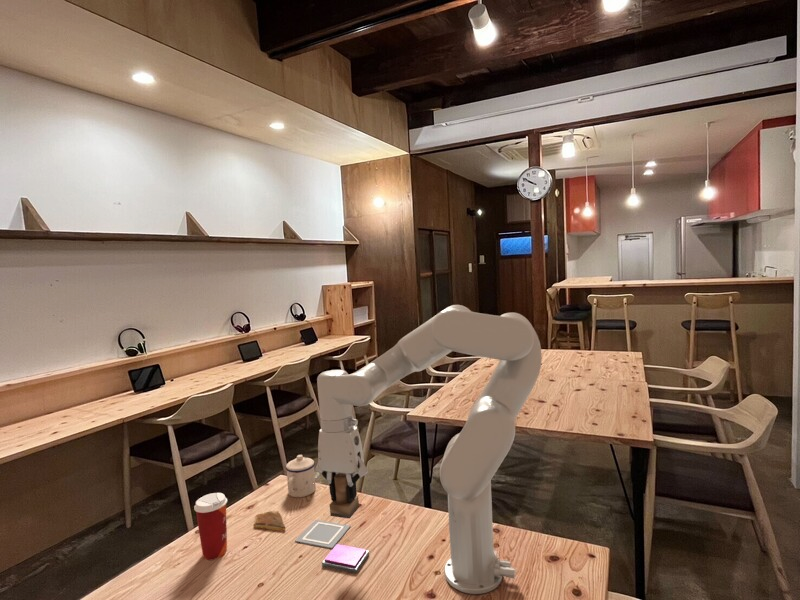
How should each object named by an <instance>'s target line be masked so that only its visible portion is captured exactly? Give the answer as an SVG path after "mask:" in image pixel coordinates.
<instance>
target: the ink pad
mask: <svg viewBox="0 0 800 600" xmlns="http://www.w3.org/2000/svg"><path fill="white" fill-rule="evenodd" d="M369 555H370V551H369V550H367V549H364V548H360V547H355V546H349V545H344V544H338V543H337V544H336V545H335V546H334V547H333V549H331V550H330V552H329V553H328V554H327V555H326V556H325V558H324V559H323V560H322V561H321V567H323V568H329V569H333V570H337V571H342V572H347V573H352V574H358V572H359V570H360V569H361V567H362V566H363V565H364V563H365V562H366V560H367V559H368V557H369Z"/></svg>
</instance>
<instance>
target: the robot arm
mask: <svg viewBox="0 0 800 600" xmlns="http://www.w3.org/2000/svg"><path fill="white" fill-rule="evenodd" d="M452 352H456V353H460V354H464V355H465V354H466V355H470V356H475V357H482V358H488V359H492V360H493V359H494V360H498V363H497V366H496V368H495V369H494V371H493V372H492V374H491V377H490V379H489V380H488V382H487V383H486V385H485V387H484V389H483V390H482V391H481V393H480V395H479V396H478V398H477V399H476V400H475V402H474V403H473V405H472V406H471V408H470V410H469V413H468V417H467V419H466V421H465V423H464V426H463V427H462V429H461V431H460V432H459V433H457V434H455V435H454V436H453V437H451V439H450V440H449V442H448V443H447V445H446V448H445V451H444V454H443V457H442V461H441V463H440V468H439V479H440V483H441V486H442V488H443V489H444V491H445V492H446V493H447V508H448V509H447V511H448V527H449V544H450V545H449V547H450V558H449V559H448V560H447V562H446V563H445V564H444V565H445V566H444V577H445V579H446V581H447V582H448V584H449V585H450V586H451V587H453V589H455V590H458V591H460V592H462V593H466V594H468V595H469V594H470V595H482V594H486V593H489V592H491V591H493V590H495V589H496V588H497V587H498V586H500V584H501V583H502V580H503V577H504V578H508V579H509V578H510V579H516V568H515V567H512V566H511V563H512V562H511V561H510V560H503V559H500V558H498V550H495V549H494V548H495V547H494V546H495V545H494V534H493V533H494V529H493V528H494V527H493V510H492V509H493V503H492V502H493V501H492V481H491V480H492V478H493V477H494V476H495V474H496V473H497V471H498V469H499V468H500V466H501V464H502V463H503V461H504V459H505V458H506V457H507V455H508V453H509V452H510V449H511V448H512V446H513V443H514V439H515V435H516V420H517V417H518V415H519V414H520V412H521V410H522V408H523V406H524V405H525V403H526V401H527V400H528V397H529V396H530V394H531V392H532V391H533V389H534V386H535V385H536V382H537V381H538V378H539V375H540V372H541V367H542V359H543V358H542V347H541V342H540V339H539V335H538V334H537V331H536V330H535V328H534V327H533V325H532V323H531V322H530V321H529V320H528V318H526V317H525V316H524V315H522V314H521V313H518V312H514V311H513V312H506V313H503V314H501V315H496V314H495V315H494V314H489V313H480V312H476V311H475V312H474V311H472V310H470V308H469V307H466V306H464V305H462V304H461V305H460V304H452V305H450V306H447V307H445V308H444V309H443V310H441V311H439V312H438V313H436V315H434V316H433V317H431V318H430V319H428V320H427V321H425V322H424V323H422V324H421V325H419V326H418V327H417V328H415V329H413V330H412V331H410V332H409V333H407V334H406V335H404V336H403V337H402V338H400V339H399V340H398V341H397V343H396V344H394V346H393V347H391V348H390V349H388V350H387V351H385V352H384V353H383V354H381V355H380V356H379V357H376V358H375V359H374V360H372V361H371V362H369V363H368V364H366V365H365V366H362V368H360V369H358V370H356V371H354V372H353V373H350V374H349V373H348V372H347V371H346V370H343V369H331V370H326V371H322V372H321V373H320V374H318V376H317V378H316V381H317V382H316V384H317V385H316V386H317V395H318V396H317V397H318V405H319V408H318V409H319V417H320V427H321V428H320V429H319V430H318V431H319V432H318V438H317V439H318V442H317V443H318V444H317V455H318V459H317V460H318V461H317V463H316V466H314V470H315V471H316V472H318V473H319V474H320V475H321V476H323V478H324V479H325V480H326V483H327V485H329V495H330V498H331V502H332V501H335V500H336V491H335V480H334V476H335V475H336V474H337V473H346V478H347V482H348V485H347V487H346V492H347V502H348V503H351V502H352V501H353V500H354V499H355V497H356V496H358V495H357V493H358V492H357V491H358V490H357V482H358V481H359V479H361V478H362V477H364V476H366V475H367V474H368V473H369V470H368V468H367V466H366V464H365V459H364V451H363V445H362V440H361V437H360V433H359V429H358V426H357V425H358V424H359V419H356V418H354V414H353V406H355V407H363V406H364V407H365V406H368V405H369V404H372V402H374V400H375V399H377V398H378V396H379V395H380V394H382V393H383V392H384V391H386V390H387V389H388V388H389V387H391V386H393V385H395V384H396V383H397V382H398V381H400V380H401V379H404V378H405V377H406V376H409V375H410V374H412V373H415V372H417V373H418V372H421V371H424V370H426V369H427V368H429V367H430V366H432V365H433V364H435V363H436V362H438V361H440V360H441V359H443V358H444V357H445V356H447V355H449V354H450V353H452ZM357 471H358V472H357Z"/></svg>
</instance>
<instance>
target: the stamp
mask: <svg viewBox="0 0 800 600" xmlns="http://www.w3.org/2000/svg"><path fill="white" fill-rule="evenodd" d="M334 480H335V491H336V500H335V501H332V500H331V503H330V504H329V513H330V515H329V516H330V517H336V518H343V519H352V518H351V517H352V516H353V515H354V514H355V513H356V512H357V510H359V508H360V504H359V503H360V502H359V496H358V495H356V497H355V499H354V500H353V501H352V502H351V503H348V502H347V492H346V487H347V485H348V482H347V478H346V473H337V474H336V475H335V476H334Z"/></svg>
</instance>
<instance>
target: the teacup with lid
mask: <svg viewBox="0 0 800 600" xmlns="http://www.w3.org/2000/svg"><path fill="white" fill-rule="evenodd" d="M285 470H286V478H287V480H286V481H287V491H288V495H289V496H290V497H293V498H305V497H307V496H310V495H312V494H313V493H314V492H315V491H316V474H315V471H316V470H315V461H314V460H313V459H312V458H310V457H305V456H303V454H298V455H297V456H296V458H294V459H292V460H290V461H288V463H286V465H285ZM313 483H314V484H313Z"/></svg>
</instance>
